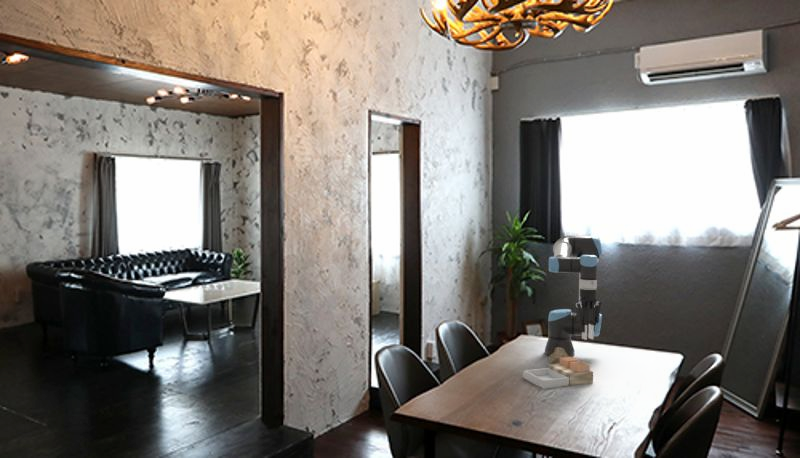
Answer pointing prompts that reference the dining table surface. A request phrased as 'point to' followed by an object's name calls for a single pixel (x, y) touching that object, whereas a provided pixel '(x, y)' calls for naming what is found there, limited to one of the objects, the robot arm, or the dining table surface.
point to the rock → (557, 355)
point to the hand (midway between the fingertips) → (587, 338)
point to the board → (573, 374)
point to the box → (546, 378)
